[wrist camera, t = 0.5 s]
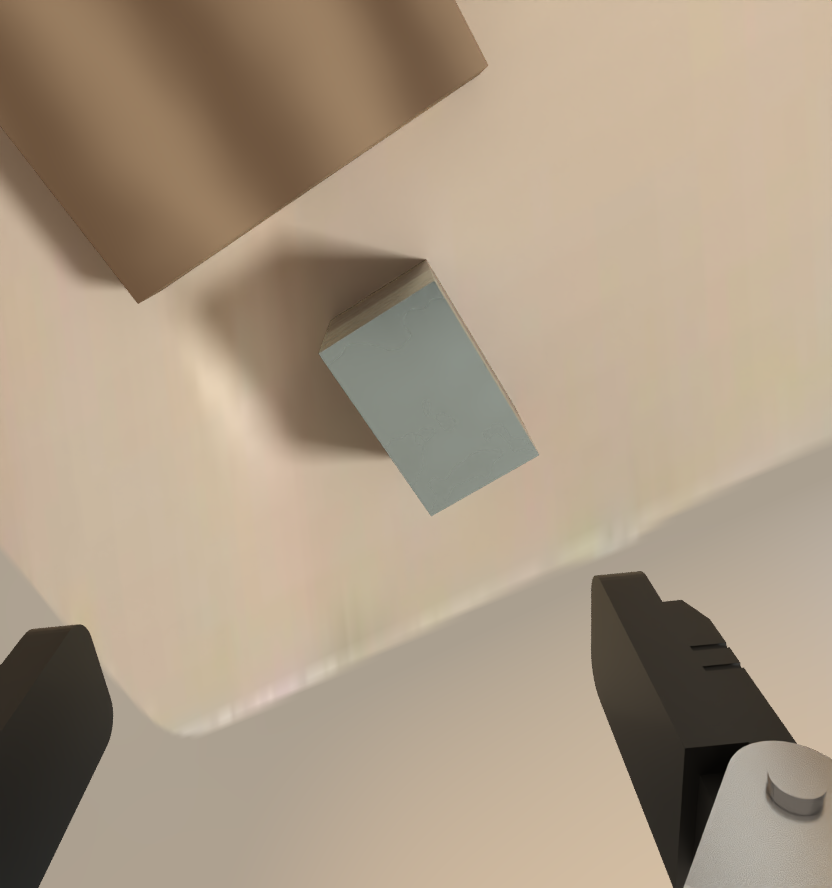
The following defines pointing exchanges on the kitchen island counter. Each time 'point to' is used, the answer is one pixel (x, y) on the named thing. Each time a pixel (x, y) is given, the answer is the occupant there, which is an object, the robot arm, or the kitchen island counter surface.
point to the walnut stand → (211, 109)
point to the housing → (426, 389)
